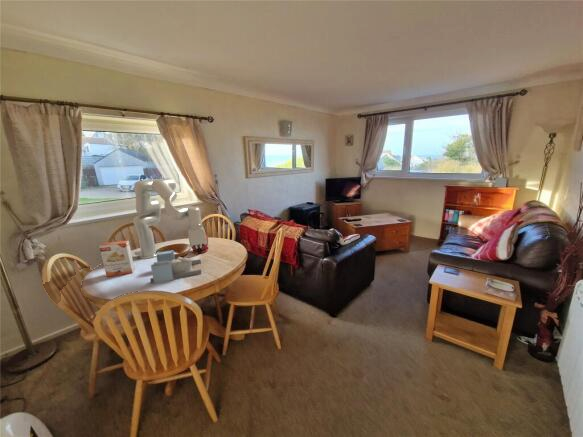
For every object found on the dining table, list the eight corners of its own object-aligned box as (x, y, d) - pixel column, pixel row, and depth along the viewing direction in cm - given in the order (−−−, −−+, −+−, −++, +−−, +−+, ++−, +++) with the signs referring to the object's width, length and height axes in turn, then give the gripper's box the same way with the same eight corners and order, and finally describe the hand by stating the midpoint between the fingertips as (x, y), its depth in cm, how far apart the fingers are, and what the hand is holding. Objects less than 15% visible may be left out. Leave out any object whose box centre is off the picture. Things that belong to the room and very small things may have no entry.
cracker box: (106, 277, 145) (98, 246, 139) (110, 273, 150) (102, 242, 145) (132, 273, 149) (125, 242, 144) (135, 269, 154) (128, 239, 149)
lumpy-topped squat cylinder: (170, 270, 152) (168, 258, 150) (192, 266, 157) (190, 254, 155) (169, 277, 143) (167, 264, 141) (192, 273, 148) (190, 260, 146)
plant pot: (197, 247, 189) (195, 233, 186) (212, 248, 187) (210, 234, 183) (187, 254, 177) (185, 239, 174) (203, 255, 174) (201, 240, 171)
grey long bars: (150, 283, 137) (150, 279, 136) (155, 270, 153) (154, 266, 152) (201, 273, 147) (201, 270, 146) (200, 262, 163) (200, 259, 162)
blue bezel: (154, 283, 136) (150, 265, 133) (159, 268, 155) (156, 252, 152) (173, 280, 140) (170, 262, 137) (175, 265, 158) (173, 250, 155)
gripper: (182, 230, 141) (187, 257, 146) (208, 226, 147) (212, 253, 151) (183, 226, 148) (187, 253, 153) (208, 223, 153) (211, 249, 158)
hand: (199, 253), depth 152 cm, fingers closed
